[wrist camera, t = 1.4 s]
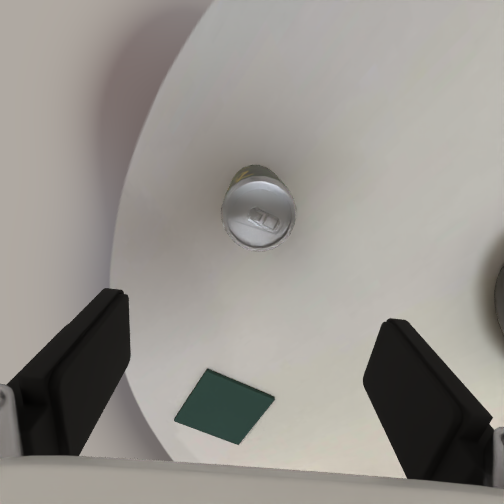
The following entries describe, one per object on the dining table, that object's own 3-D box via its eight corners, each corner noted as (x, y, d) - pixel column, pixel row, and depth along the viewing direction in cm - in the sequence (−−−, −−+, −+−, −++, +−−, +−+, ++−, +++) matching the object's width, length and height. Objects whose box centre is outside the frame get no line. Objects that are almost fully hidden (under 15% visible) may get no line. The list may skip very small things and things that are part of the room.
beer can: (289, 179, 30) (313, 200, 19) (264, 222, 32) (274, 266, 20) (244, 154, 29) (241, 161, 18) (221, 200, 31) (206, 234, 19)
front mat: (174, 418, 42) (173, 421, 42) (207, 368, 39) (206, 371, 39) (238, 442, 45) (238, 445, 44) (274, 396, 41) (274, 399, 41)
